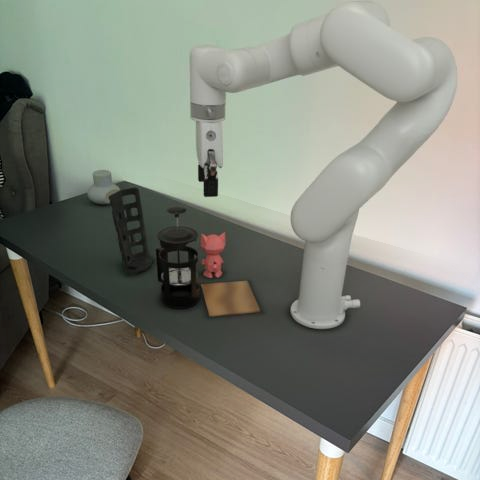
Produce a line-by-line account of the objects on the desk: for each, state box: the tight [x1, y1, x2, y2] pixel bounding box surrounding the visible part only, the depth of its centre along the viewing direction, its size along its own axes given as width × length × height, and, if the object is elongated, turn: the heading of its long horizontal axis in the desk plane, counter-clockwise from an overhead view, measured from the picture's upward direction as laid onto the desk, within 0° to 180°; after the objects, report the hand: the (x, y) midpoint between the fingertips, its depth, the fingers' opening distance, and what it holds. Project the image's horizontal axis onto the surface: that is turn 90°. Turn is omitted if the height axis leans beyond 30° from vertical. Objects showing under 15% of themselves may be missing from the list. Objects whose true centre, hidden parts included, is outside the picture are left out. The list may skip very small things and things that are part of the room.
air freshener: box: [86, 169, 121, 206], centre depth 169 cm, size 11×8×10 cm
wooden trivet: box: [200, 280, 261, 317], centre depth 123 cm, size 12×14×1 cm
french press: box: [155, 205, 201, 310], centre depth 116 cm, size 12×9×23 cm
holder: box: [109, 187, 153, 276], centre depth 130 cm, size 11×8×20 cm
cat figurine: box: [199, 231, 227, 279], centre depth 129 cm, size 7×7×12 cm
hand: (207, 188), depth 119 cm, fingers open, 9 cm apart
